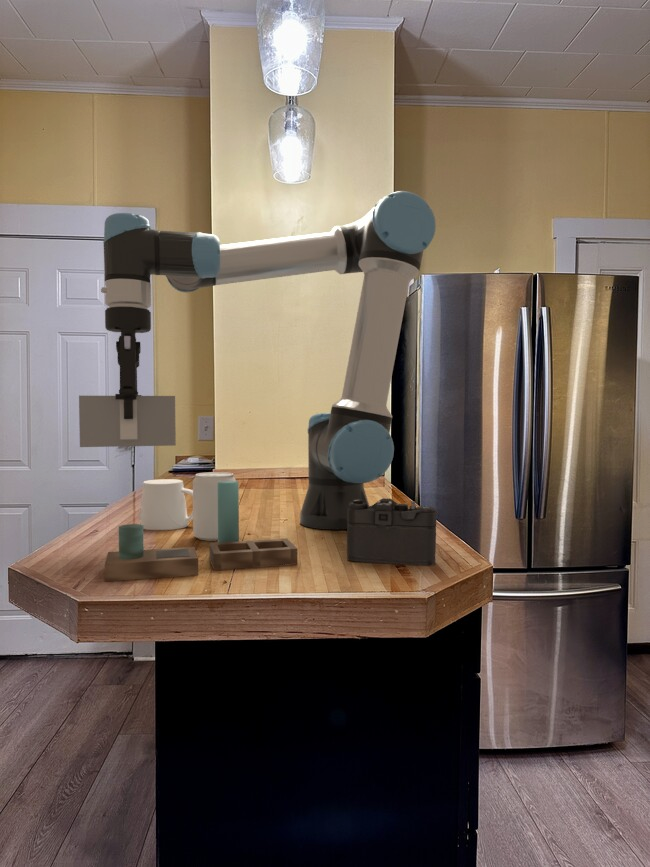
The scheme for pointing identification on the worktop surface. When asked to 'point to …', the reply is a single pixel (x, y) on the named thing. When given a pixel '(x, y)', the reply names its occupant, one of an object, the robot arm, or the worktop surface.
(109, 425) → the cover
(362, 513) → the camera
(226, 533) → the pin
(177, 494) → the mug
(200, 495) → the beverage can
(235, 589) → the worktop surface
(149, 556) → the board
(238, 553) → the board
